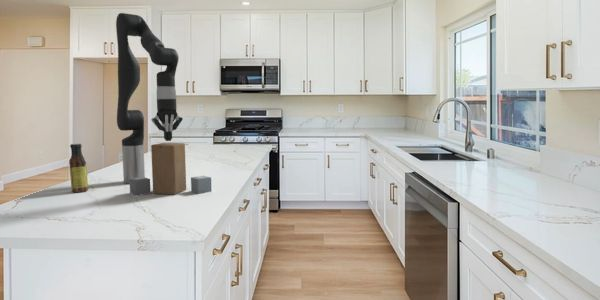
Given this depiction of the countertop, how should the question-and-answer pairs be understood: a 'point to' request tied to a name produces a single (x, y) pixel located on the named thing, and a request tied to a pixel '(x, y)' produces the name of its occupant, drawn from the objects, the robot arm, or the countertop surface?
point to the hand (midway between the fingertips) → (168, 140)
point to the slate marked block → (201, 184)
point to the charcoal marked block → (140, 186)
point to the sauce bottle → (78, 169)
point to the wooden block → (168, 168)
